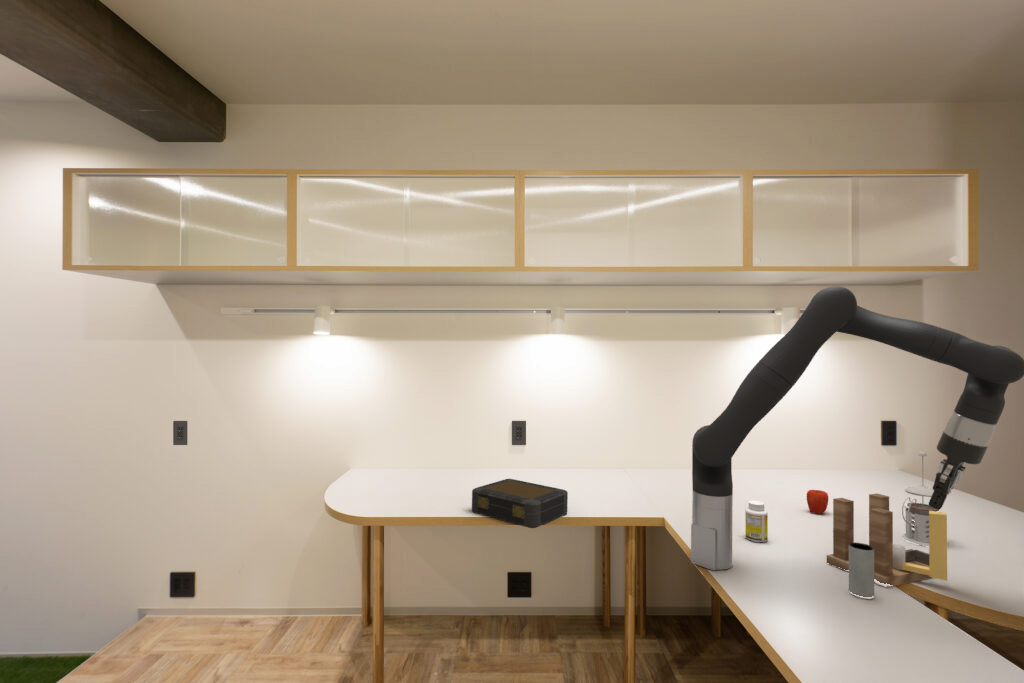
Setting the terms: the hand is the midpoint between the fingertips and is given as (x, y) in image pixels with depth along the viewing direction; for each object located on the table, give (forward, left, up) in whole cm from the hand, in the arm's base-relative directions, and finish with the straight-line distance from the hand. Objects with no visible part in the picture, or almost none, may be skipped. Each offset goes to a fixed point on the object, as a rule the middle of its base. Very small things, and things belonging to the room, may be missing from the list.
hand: (934, 506), depth 114 cm
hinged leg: (+1, +3, -16) cm, 16 cm away
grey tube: (-16, +10, -18) cm, 26 cm away
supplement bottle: (0, +39, -18) cm, 43 cm away
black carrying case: (-36, +98, -18) cm, 105 cm away
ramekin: (+59, +13, -18) cm, 63 cm away
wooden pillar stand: (+3, +11, -18) cm, 21 cm away
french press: (+35, +9, -18) cm, 40 cm away
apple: (+41, +37, -18) cm, 58 cm away
